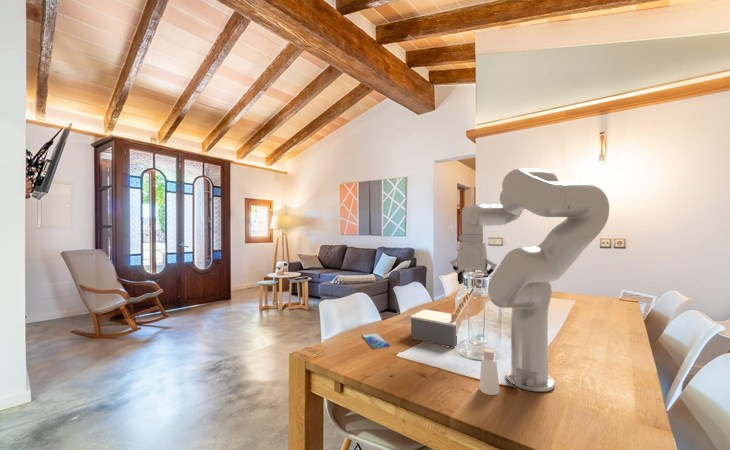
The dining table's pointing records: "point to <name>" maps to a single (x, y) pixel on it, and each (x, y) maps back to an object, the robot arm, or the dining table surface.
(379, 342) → the smartphone
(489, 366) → the pepper shaker
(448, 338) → the box
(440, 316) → the lid
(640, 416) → the dining table surface
